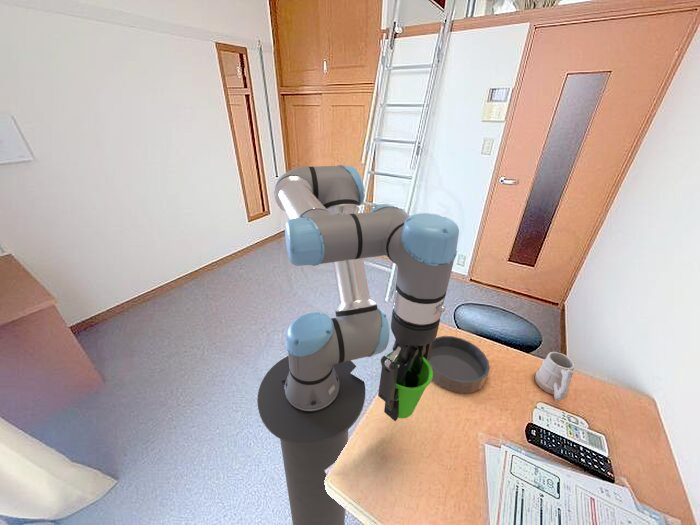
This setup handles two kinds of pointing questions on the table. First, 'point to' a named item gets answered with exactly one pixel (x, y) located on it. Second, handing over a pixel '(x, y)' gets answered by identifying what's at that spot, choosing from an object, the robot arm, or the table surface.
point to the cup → (413, 390)
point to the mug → (555, 374)
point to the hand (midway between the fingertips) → (400, 405)
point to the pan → (458, 364)
